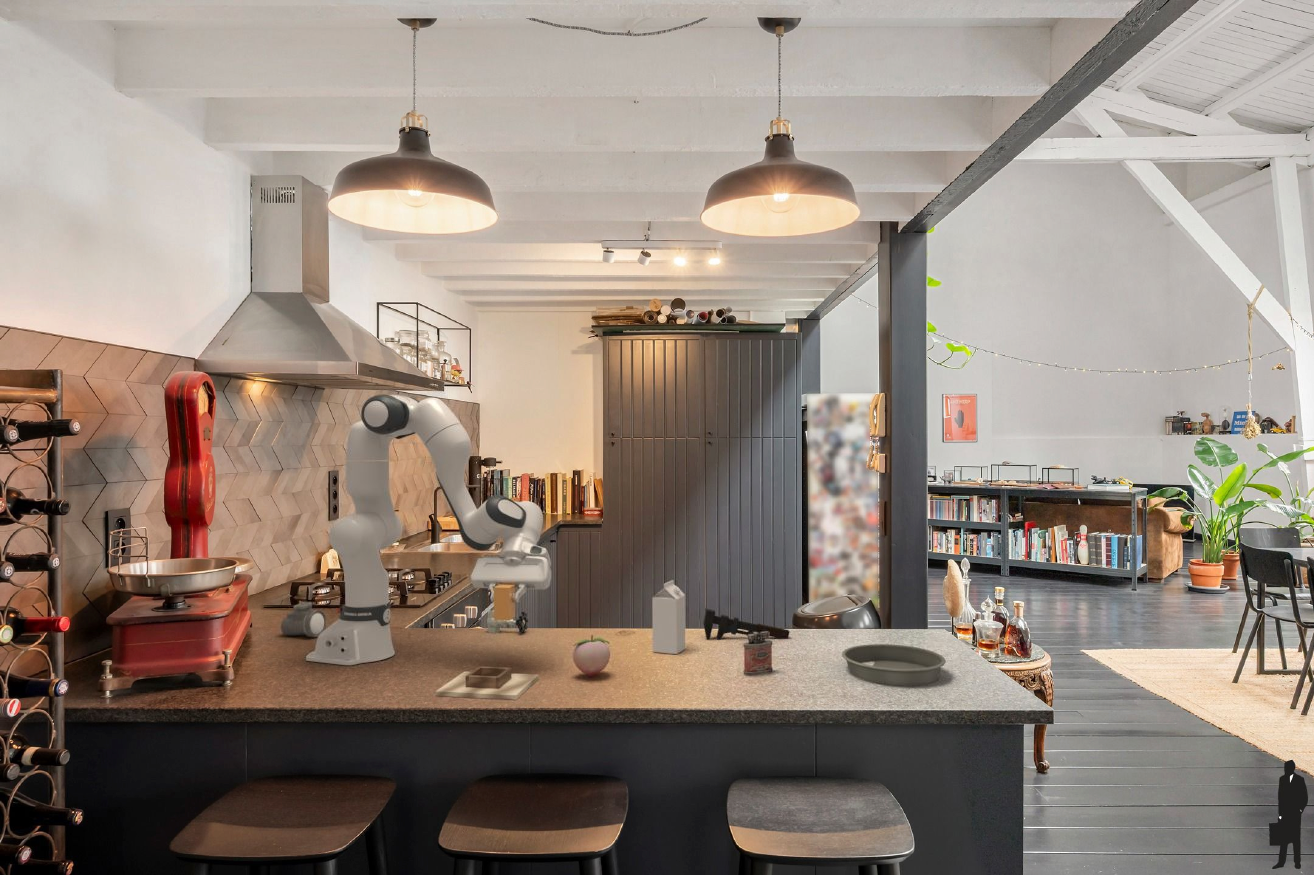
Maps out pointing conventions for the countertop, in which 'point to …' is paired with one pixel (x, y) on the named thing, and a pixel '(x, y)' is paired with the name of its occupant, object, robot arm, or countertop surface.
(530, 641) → the countertop surface
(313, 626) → the pipe fitting
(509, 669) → the socket board
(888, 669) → the cake pan
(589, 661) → the decorative fruit
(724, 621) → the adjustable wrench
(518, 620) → the valve
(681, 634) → the milk carton
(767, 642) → the lighter
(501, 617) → the orange cap block
